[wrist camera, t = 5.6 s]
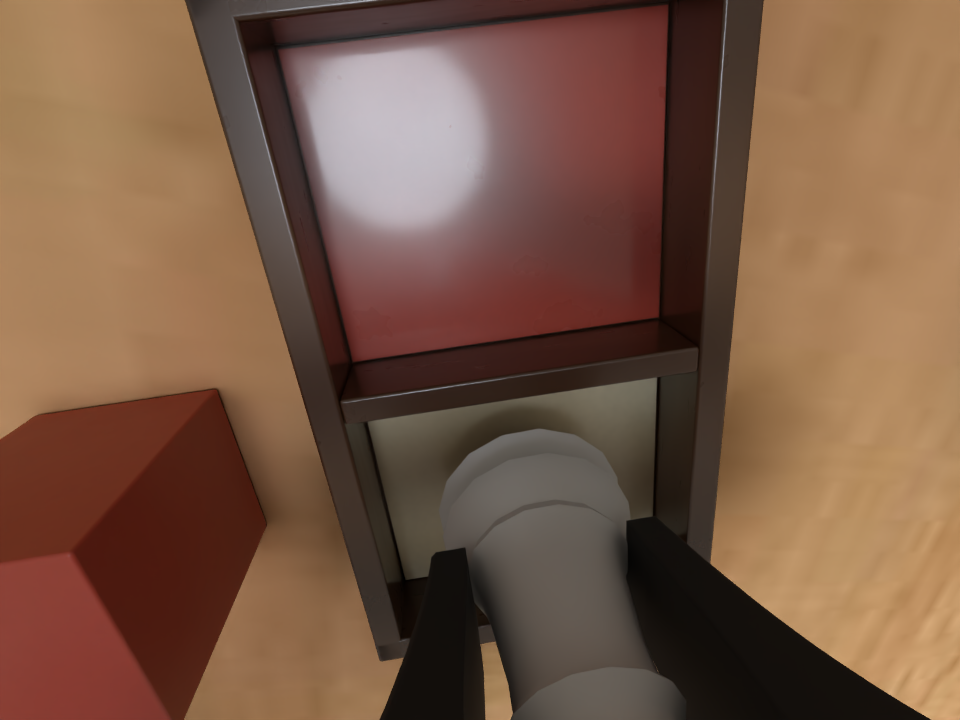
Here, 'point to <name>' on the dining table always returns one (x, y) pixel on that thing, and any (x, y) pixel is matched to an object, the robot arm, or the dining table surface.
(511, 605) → the rook chess piece
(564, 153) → the tray
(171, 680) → the brick-red block
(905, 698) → the dining table surface
